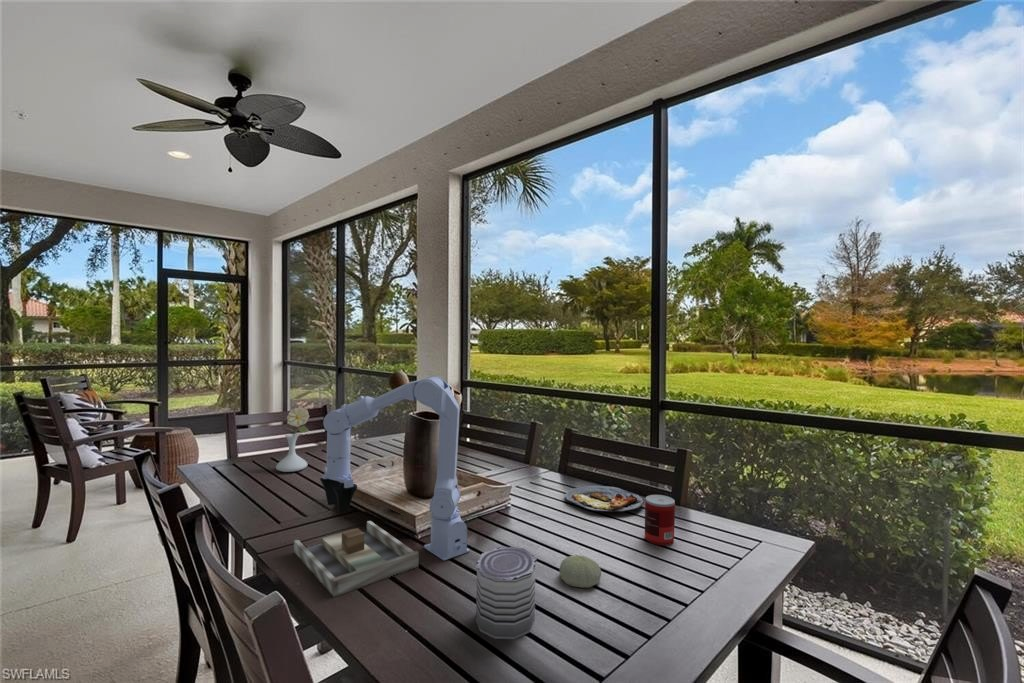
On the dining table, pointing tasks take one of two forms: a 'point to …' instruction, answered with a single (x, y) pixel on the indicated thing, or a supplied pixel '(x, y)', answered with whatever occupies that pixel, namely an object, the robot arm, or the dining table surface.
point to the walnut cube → (352, 541)
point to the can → (505, 592)
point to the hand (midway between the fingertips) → (337, 508)
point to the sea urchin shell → (580, 571)
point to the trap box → (356, 560)
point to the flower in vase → (292, 459)
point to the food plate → (604, 498)
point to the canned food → (659, 519)
